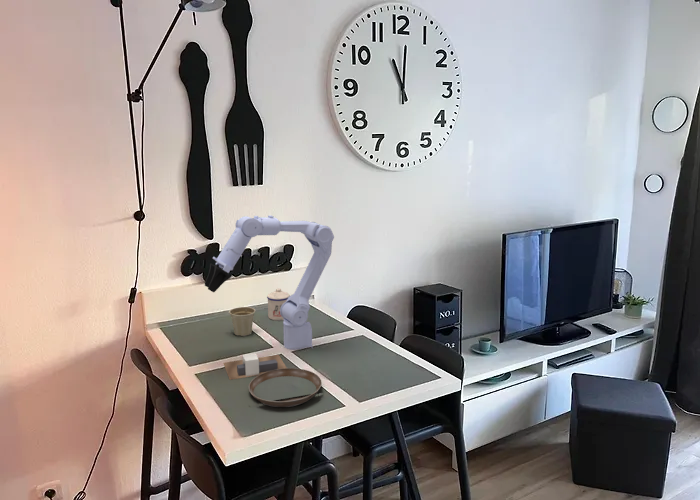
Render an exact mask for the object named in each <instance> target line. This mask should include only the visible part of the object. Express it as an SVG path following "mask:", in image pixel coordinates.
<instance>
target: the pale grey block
mask: <svg viewBox="0 0 700 500" xmlns="http://www.w3.org/2000/svg"><path fill="white" fill-rule="evenodd" d="M258 358H259V356H258V355H257V353H256V352H251V353H245V354H242V360H243V364H245V373H246V376H252V375H259V359H258ZM252 377H253V376H252Z"/></svg>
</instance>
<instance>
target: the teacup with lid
mask: <svg viewBox="0 0 700 500" xmlns="http://www.w3.org/2000/svg"><path fill="white" fill-rule="evenodd" d="M289 296H291V294H289V293H288V292H286V291H283V290H282V289H281V288H278V287H277V288H276V289H275V290H274V291H273V292H270V293H268V294H267V296H266V298H267V314H268V319H270V320H273V321H284V318H283V317H282V316H281V314H280V308H281V306H282V305H283V304H284V303H285V302H286V301H287V299H288V297H289Z"/></svg>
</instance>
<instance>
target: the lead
mask: <svg viewBox="0 0 700 500" xmlns="http://www.w3.org/2000/svg"><path fill="white" fill-rule="evenodd" d="M276 369H278V363H277V361H276V359H275V360H268V361H261V362H259V373H261V372H267V371H271V370H276ZM237 373H238V375H239V376H241V375H246V373H245V364H241V365H237Z"/></svg>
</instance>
